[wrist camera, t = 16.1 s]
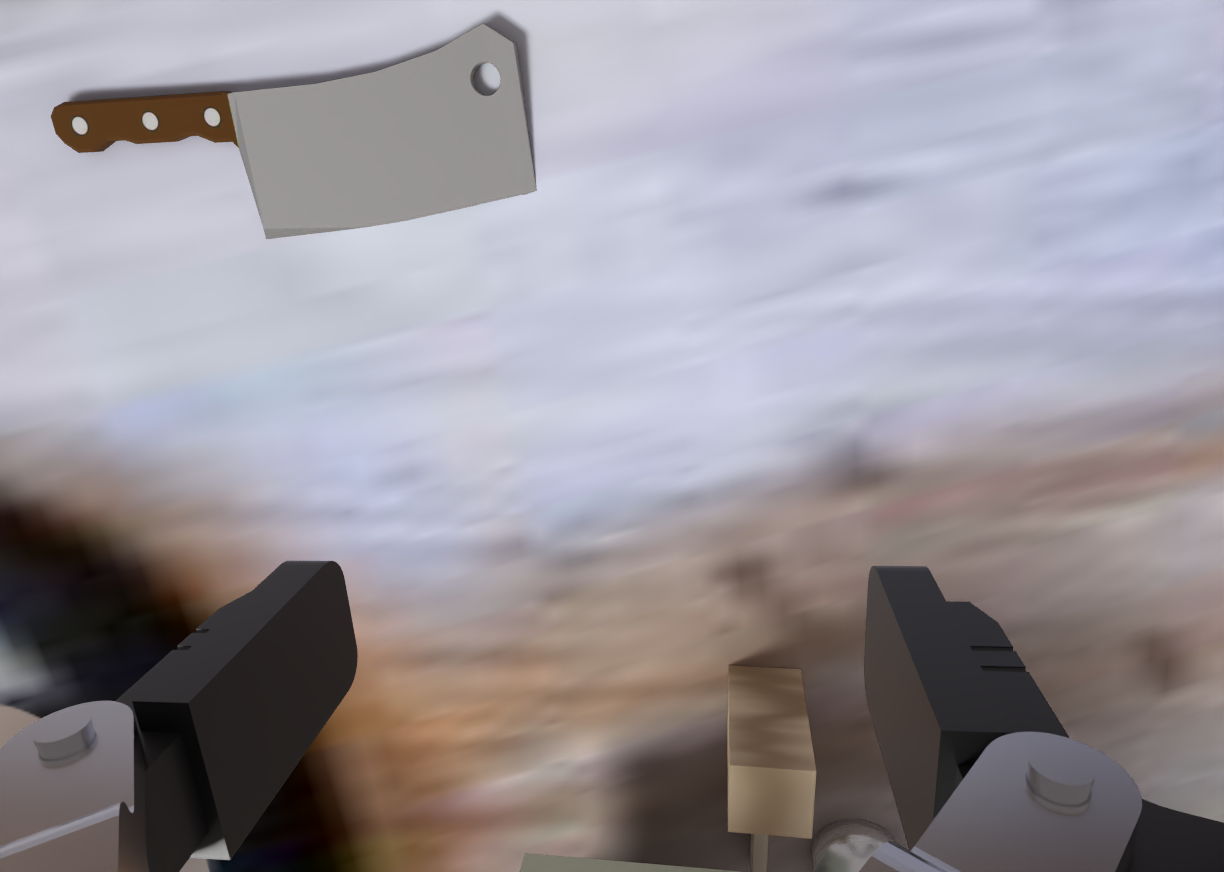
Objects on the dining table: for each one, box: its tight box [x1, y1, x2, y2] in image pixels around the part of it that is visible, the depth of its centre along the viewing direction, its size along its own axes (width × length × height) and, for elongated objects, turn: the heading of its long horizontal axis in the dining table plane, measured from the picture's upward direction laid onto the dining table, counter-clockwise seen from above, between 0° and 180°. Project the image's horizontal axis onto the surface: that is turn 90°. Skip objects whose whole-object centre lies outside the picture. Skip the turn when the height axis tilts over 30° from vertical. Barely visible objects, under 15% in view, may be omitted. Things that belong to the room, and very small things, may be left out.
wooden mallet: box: [727, 665, 816, 872], centre depth 43 cm, size 4×14×8 cm, turn 1°
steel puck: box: [812, 819, 895, 872], centre depth 47 cm, size 5×5×2 cm
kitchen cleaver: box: [51, 24, 537, 239], centre depth 39 cm, size 24×1×10 cm
